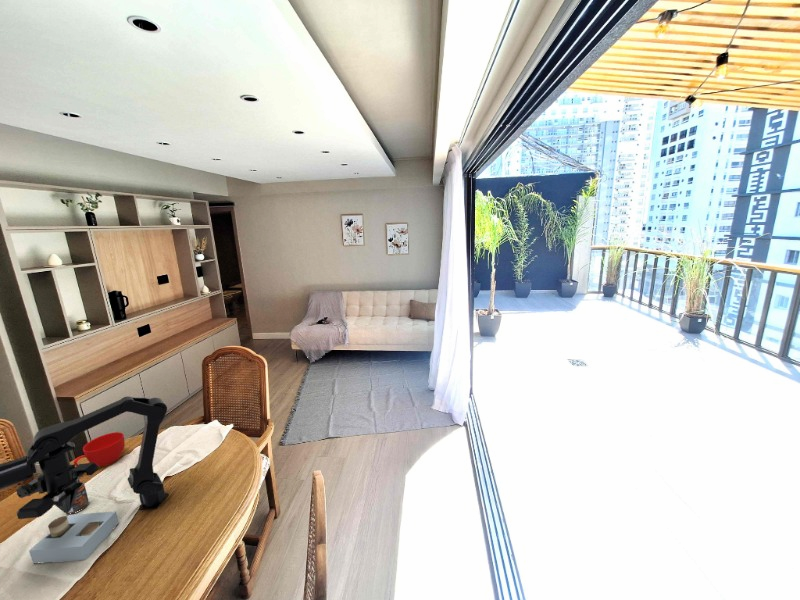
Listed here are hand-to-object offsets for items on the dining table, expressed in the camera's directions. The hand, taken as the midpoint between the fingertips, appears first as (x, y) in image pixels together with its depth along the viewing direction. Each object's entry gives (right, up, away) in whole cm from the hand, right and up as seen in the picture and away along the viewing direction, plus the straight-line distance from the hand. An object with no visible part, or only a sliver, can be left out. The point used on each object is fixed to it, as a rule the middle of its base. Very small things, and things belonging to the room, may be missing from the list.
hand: (67, 511), depth 94 cm
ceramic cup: (-26, -6, +38) cm, 46 cm away
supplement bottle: (-14, -10, +16) cm, 23 cm away
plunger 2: (+5, -12, +3) cm, 13 cm away
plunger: (-4, -9, +2) cm, 10 cm away
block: (+1, -12, +3) cm, 12 cm away
